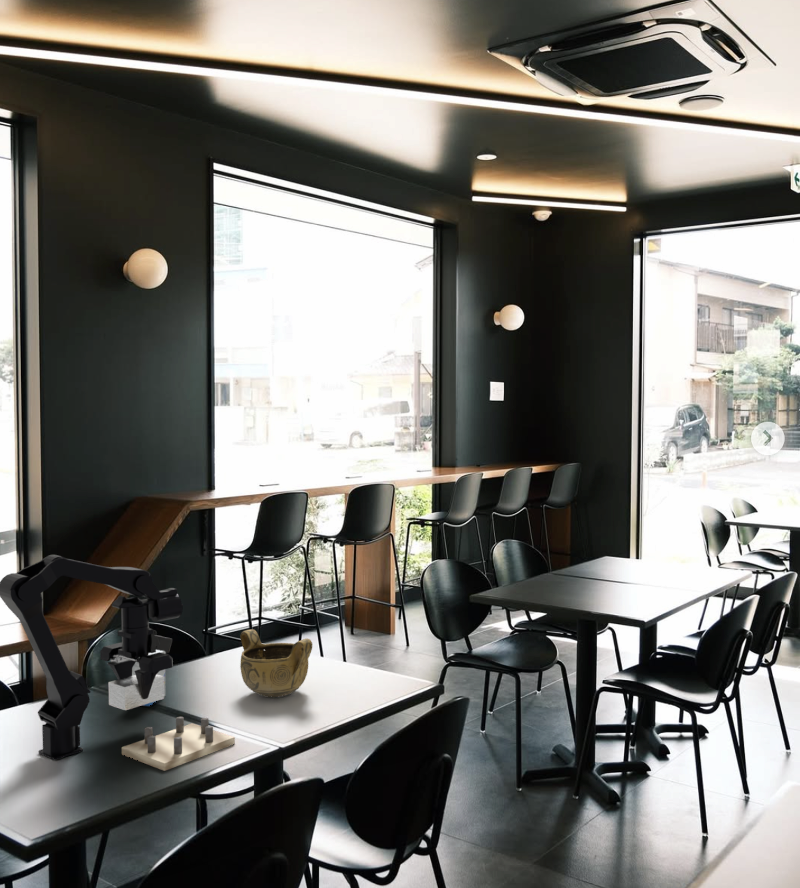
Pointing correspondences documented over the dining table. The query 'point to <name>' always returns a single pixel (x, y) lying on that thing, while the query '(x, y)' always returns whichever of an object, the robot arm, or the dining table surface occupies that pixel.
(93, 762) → the dining table surface
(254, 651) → the ceramic bowl
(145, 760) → the pin tray
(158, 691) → the block
